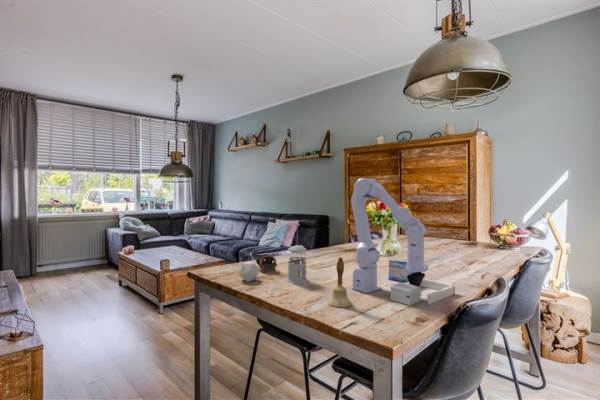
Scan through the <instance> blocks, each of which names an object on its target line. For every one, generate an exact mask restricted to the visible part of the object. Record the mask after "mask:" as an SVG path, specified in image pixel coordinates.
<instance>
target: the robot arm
mask: <svg viewBox="0 0 600 400" xmlns="http://www.w3.org/2000/svg"><path fill="white" fill-rule="evenodd" d="M371 196H372V197H375V198H378V199H379V200H380V201H381V202H382V203H383V204H384V205H385V206H386V207H387V208H388V210H390V211H391V212H392V214H391V215H392V218H393V219H394V220H395V221H396V223H397V224H398V225H399V226H400V227H401V229H403V230H404V233H405V236H406V237H407V242H406V243H407V245H406V247H407V256H406V258H407V259H406V260H407V267H406V268H405V269H403V270H402V276H406V277H407V278H408V280H407V282H409V283H410V284H411V285H414V286H419V287H420V285H421V282H422V280H423V279H425V277H426V273H425V272H427V271H429V264H425V263H424V262H425V261H424V259H425V243H424V242H425V239H424V238H425V237H424V236H425V235H426V233H427V229H426V225H424V223H422V222H421V221H419V219H418V218H415V217H414V216H413V215H412V213H410V210H411V209H409V208H408V207H407V208H406V207H405V206H400V205H399V204H398V203H397V202H396V200H395V199H394V198H393V197H392V196H391V195H390V194H389V192H388V191H387V190H386V188H385V187H384V186H383V184H382V183H380V182H378V180H377V179H375V178H372V177H371V178H366V177H361V178H359V179H357V180H356V182H355V183H354V184H353V192H352V195H351V199H350V202H351V207H352V215H353V218H354V224H355V225H354V226H355V229H356V231H355V232H356V237H357V241H358V244H357V246H356V256H355V262H356V263H357V265H358V266H357V268H355V269H354V270H353V272H352V286H351V287H350V288H351V289H352V290H355V291H357V292H361V293H365V294H368V293H372V292H375V291H378V290H381V289H382V287H381V286H378V285H377V284H378V282H377V281H378V264H377V263H378V262H379V260H380V253H379V251H378V249H377V247H376V244H375V243H374V242H373V239H372V234H371V229H370V228H371V227H370V223H369V218H368V211H367V205H366V202H367V201H368V200H369V199H370V197H371Z"/></svg>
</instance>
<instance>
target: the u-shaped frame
mask: <svg viewBox="0 0 600 400" xmlns="http://www.w3.org/2000/svg"><path fill="white" fill-rule="evenodd" d="M405 283H406V284H410V283H409V281H407V282H405ZM420 287H421V288H422V287H423V288H427V289H432V290H435V291H433V292H431V293H428V294H427V295H426V296H427V299H426V302H427V304H428V305H431V304H433V303H436V302H438V301H440V300H444V299H446V298H448V297H450V296H452V295H456V285H453V284H449V283H444V282H440V281H436V280H431V279H426V278H423V280H422V282H421V285H420Z"/></svg>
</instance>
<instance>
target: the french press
mask: <svg viewBox="0 0 600 400" xmlns="http://www.w3.org/2000/svg"><path fill="white" fill-rule="evenodd" d="M295 227H296V245H292V246H290V247H288V248H287V250H288V251H289V252H293V253H296V256H292V257H291V256H290V257H289V258H288V259H289V260H288V261H287V265H288V268H287V271H288V272H287V274H288V277H287V279H286V280H285V281H286V283H288V284H294V285H300V284H306V283H309V279H308V278H307V266H306V265H307V260H306V257H305V256H304V257H303V255H306V251H307V248H305V247H304V246H302V245H299V244H298V243H299V242H298V239H299V238H298V234H299V233H298V231H299V230H298V227H300V223H298V222H297V223H295ZM298 253H299V255H301V256H298Z"/></svg>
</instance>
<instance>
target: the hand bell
mask: <svg viewBox="0 0 600 400" xmlns="http://www.w3.org/2000/svg"><path fill="white" fill-rule="evenodd" d="M344 269H345V264H344V260H343V257H338V259H337V262H336V274H337V282H336V283H337V284H336V285H335V287H333V288H332V289H333V290H332V296H331V297H330V299H328V301H327V304H328V305H329V306H332V307H336V308H347V307H351V306H352V305H353V303H352V300H350V298H349V297H348V293H347V288H346V287H344V286H343V275H344V271H345V270H344Z"/></svg>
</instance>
